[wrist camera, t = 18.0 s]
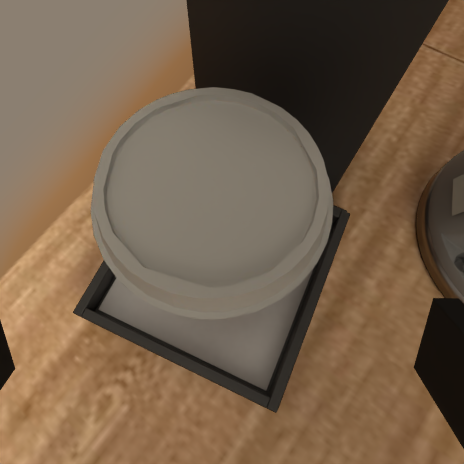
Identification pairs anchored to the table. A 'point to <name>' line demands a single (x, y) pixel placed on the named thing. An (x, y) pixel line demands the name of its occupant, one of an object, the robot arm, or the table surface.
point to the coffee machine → (322, 132)
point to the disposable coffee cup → (211, 203)
